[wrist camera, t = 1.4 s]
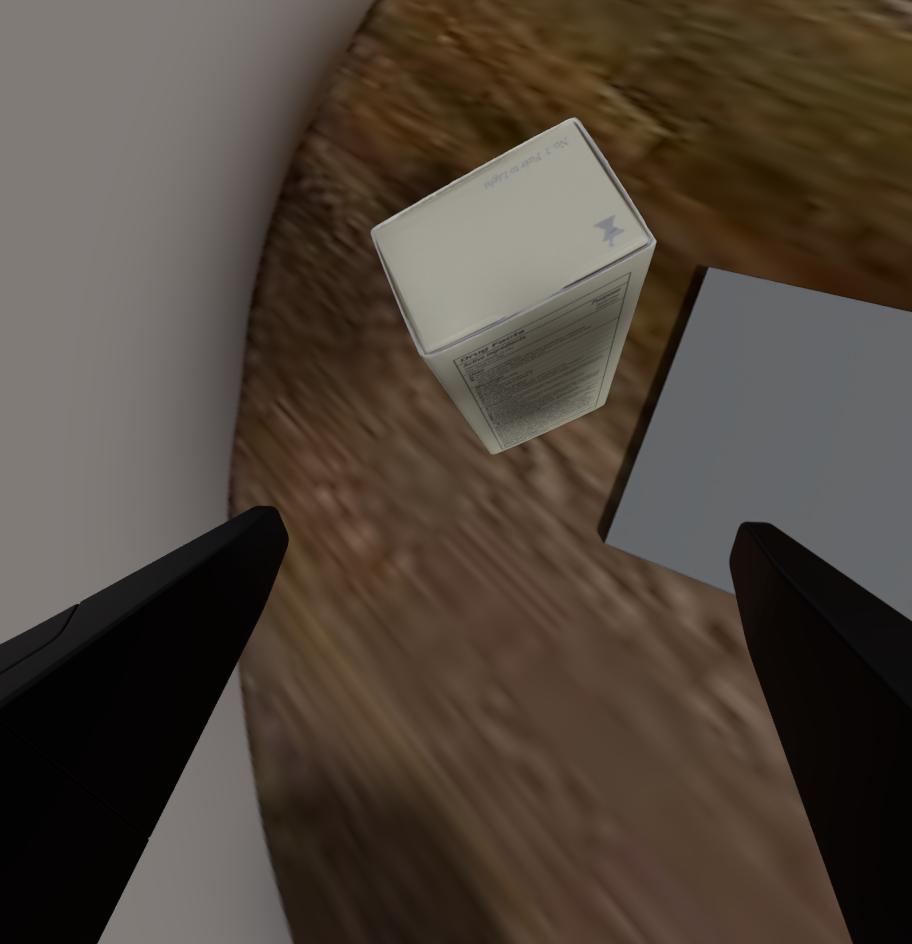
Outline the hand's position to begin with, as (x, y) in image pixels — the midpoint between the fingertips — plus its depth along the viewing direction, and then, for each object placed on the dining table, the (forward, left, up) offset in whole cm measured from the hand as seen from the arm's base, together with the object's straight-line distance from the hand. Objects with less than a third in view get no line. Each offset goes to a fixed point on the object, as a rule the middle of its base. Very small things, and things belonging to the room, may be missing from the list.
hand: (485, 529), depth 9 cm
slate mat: (+11, -6, -13) cm, 18 cm away
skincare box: (+6, +5, -13) cm, 15 cm away
